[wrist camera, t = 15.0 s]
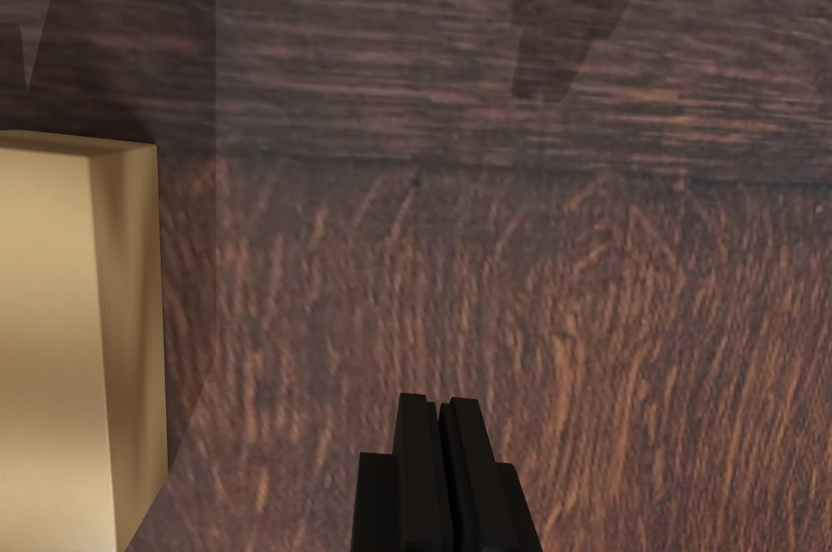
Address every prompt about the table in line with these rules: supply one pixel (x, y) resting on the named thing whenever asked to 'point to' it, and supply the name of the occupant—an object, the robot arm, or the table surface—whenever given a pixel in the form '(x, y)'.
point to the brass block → (79, 342)
